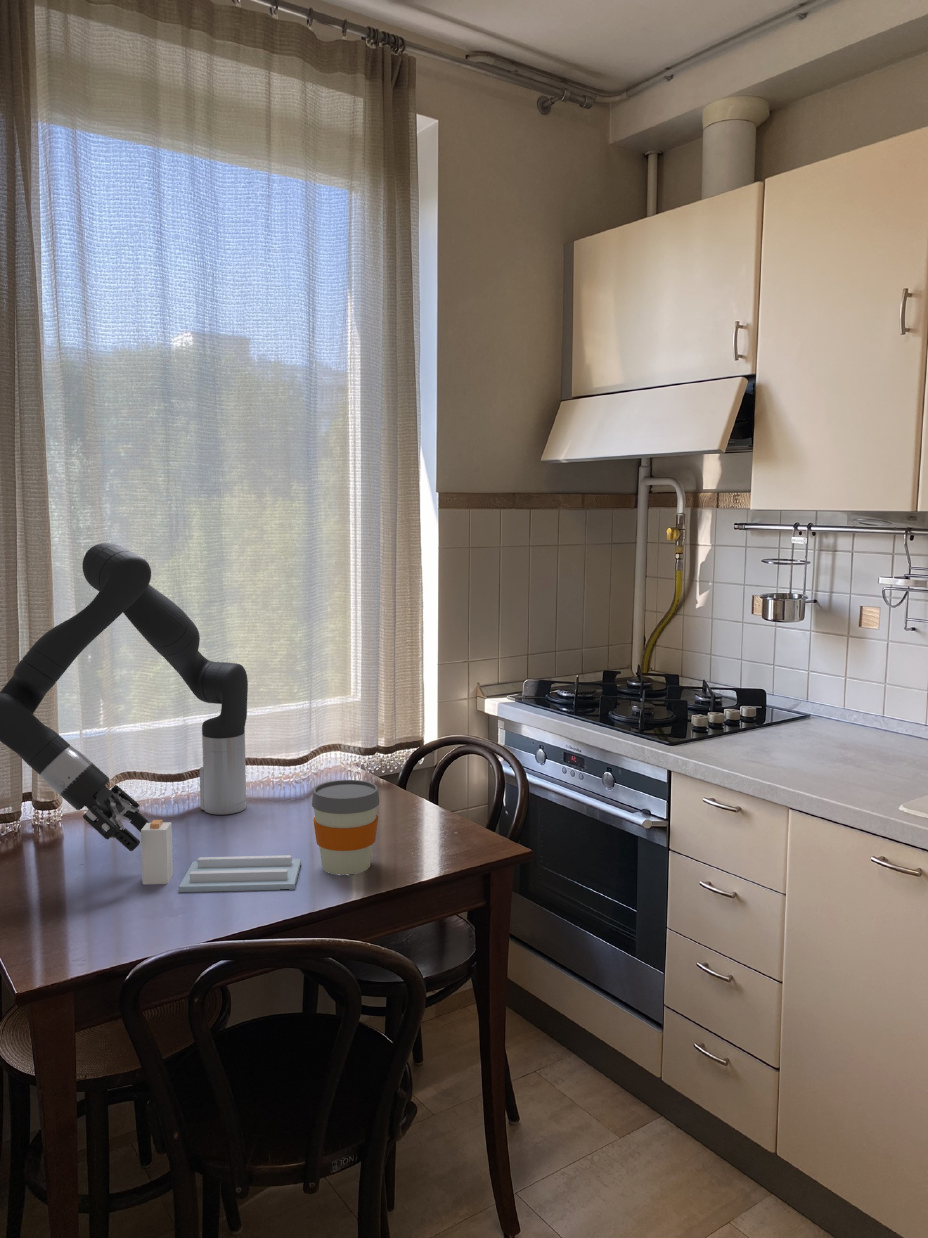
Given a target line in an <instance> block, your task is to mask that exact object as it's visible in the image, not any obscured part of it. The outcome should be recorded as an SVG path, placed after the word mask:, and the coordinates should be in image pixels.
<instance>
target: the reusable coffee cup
mask: <svg viewBox="0 0 928 1238" xmlns="http://www.w3.org/2000/svg"><path fill="white" fill-rule="evenodd" d="M311 801H312V802H311V806H312V808H313V810H314V811H313V812H314V817H313V819H312V821H313V826H314V827H313V829H314V834H315V840H316V841H315V842H316V844H317V845H318V847H319V853H320V860H321V861H320V862H321V868H322V870H323V871H324V870H325V871H324V872H325V873H327V872H329V873H331V874H330V875H333V874H340V875H339V876H341V875H346V874H355V875H357V874H356V873H359V874H361V873H360V872H362V873H364V872H363V871H365V870H367V869H368V868H369V867H371V861H372V851H373V845H374V844H375V842H376V839H377V838H376V837H377V829H378V822H379V816H378V815H377V811H378V806H379V805H380V795H379V787H378V785H376V784H375V783H372V782H370V781H366V780H358V779H339V780H333V781H332V780H330V781H327V782H322V783H320V784H318V785H316V786H315V787H313V790H312V799H311ZM369 869H370V868H369ZM369 869H368V870H369ZM368 870H367V871H368ZM365 872H366V871H365ZM329 873H328V874H329Z"/></svg>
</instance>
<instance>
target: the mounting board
mask: <svg viewBox="0 0 928 1238" xmlns="http://www.w3.org/2000/svg"><path fill="white" fill-rule="evenodd" d="M292 857H293V856H292V855H288V854H287V855H249V856H247V855H244V856H243V855H242V856H241V855H240V856H210V857H209V856H207V857H206V856H203V857H201V856H199V857H198V858H197V861H196V860H195V861H194V860H193V861H192V863H191V865H190V866H189V868H188V869H187V871H186V874H185V875H184V877H183V878H182V880H181V882H180V883H179V886H178V893H203V892H212V893H213V892H240V891H241V892H242V891H243V892H245V891H246V892H247V891H248V892H249V891H278V890H279V891H281V890H280V889H289V890H295V889H294V888H296V885H295V884H297V881H298V878H299V872H300V870H299V869H301V866H300V865H302V859H301V858H292Z"/></svg>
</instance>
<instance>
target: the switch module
mask: <svg viewBox="0 0 928 1238" xmlns="http://www.w3.org/2000/svg"><path fill="white" fill-rule="evenodd" d="M172 826H173V825H172V822H167V821H165V822H163V819H153V820H152V821H151V822H150V823H146V824H145V826H144V827H143V828H142V829H141V832H140V845H141V875H142V877H141V878H142V885H168V884H169V882H170V881H171V880H172V878H173V876H174V863H173V862H174V861H173V835H172V834H173V830H172V829H173V827H172Z"/></svg>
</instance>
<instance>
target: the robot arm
mask: <svg viewBox="0 0 928 1238" xmlns="http://www.w3.org/2000/svg"><path fill="white" fill-rule="evenodd" d="M81 567H82V573H83V577H84V578H85V580H86V582H87V583H88V585H90V587H92V588H93V589H94V590H96V591H98V593H97V594H96V596H95V597H94V598H93V599H92V601H90V603H89V604H88V605H86V606H85V607H84V608H83V609H82V610H80V611H79V612H78V613H77V614H75V615H73V616H72V617H69V619H67V620H64V621H63V622H61V623H59V624H58V625H55V626H54V627H52V628H51V629H48V631H46V632H45V633H44V634H43V635H42V636H41V637H39V639H38V640H36V641H35V642H34V644H33V645H32V646H31V648H30V649H29V650H28V651H27V653H26V654H25V655H24V656H23V657H22V659H20V661H19V662H18V663H17V665H16V667H15V668H14V670H13V675H12V677H11V678H10V679H9V680H8V682H7V683H6V684H5V685H4V686H3V687H2V689H1V690H0V743H2V744H3V745H5V746H6V747H7V748H9V749H10V751H14V753H16V754H17V755H18V756H19V757H20V758H21V759H22V761H24V762H25V763H26V764H27V765H28V766H29V767H30V768H31V769H33V770H34V771H35V772H36V773H37V774H38V775H39V776H40V777H41V778H42V780H43V781H45V783H46V784H47V785H48V786H49V787H50V788H52V790H53V791H55V792H56V793H57V794H58V795H59V796H60V797H62V799H64V800H65V801H66V802H67V803H68V804H69V805H70V806H71V807H73V808H74V810H76V811H81V810H83V808H84V807H85V808H86V809H87V811H86V812H85V813H84V814H83V815H82V818H83V819H84V821H86V822H87V823H88V824H89V825H90V826H91V827H93V829H95V831H96V832H98V833H99V835H101V837H102V838H104V839H105V840H110V839H111V838H112V839H113V840H114V839H116V840H117V841H118V842H119V843H120V844H121V845H123V847H125V848H126V849H127V850H128V851H129V852H133V851H135V849H136V848H138V846H139V845H141V840H140V839H139V838H138V837H136V836H135V835H134V834H133V833H132V832H131V831H130V830H128V829H127V828H126V827H124V824H123V823H122V821H121V819H124V820H126V821H129V824H131V825H132V826H133V827H134V828H135V829H137V830H138V831H139V833H141V829H142V828H143V827H144V826H145V824H146V823H151V822H150V821H149V820H148V819H147V818H145V816H143V814H141V812H140V809H138V808H139V807H140V804H139V803H138V802H137V801H136V800H135V799H134V798H133V797H131V796H130V795H129V794H128V793H126V791H125V790H123V789H122V788H121V787H120V786H119V785H117V784H114V785H113V786H112V787H111V788H110V789H109V788H108V787H106V785H108V784H109V782H110V778H109V776H107V774H105V773H104V772H103V771H102V770H101V769H100V768H99V767H97V765H95V764H94V762H92V761H91V760H90V759H89V758H87V756H85V755H84V754H83V753H82V752H80V751H79V749H76V748H75V747H73V746H72V745H71V744H70V743H69V742H68V741H66V740H65V739H64V738H63V737H62V736H61V735H60V734H59V733H58V732H56V731H55V730H53V728H50V727H48V726H46V725H45V724H44V723H43V722H42V721H41V720H39V719H38V718H37V716H35V714H34V713H35V712H36V710H37V709H38V707H39V706H40V704H41V702H42V701H43V699H44V698H45V696H46V694H47V693H48V692H49V691H50V690H51V689H52V688H53V686H54V685H56V683H57V682H58V681H59V679H60V678H61V677H62V676H63V675H64V673H65V672H66V671H67V669H69V667H70V666H71V664H72V663H73V662H74V661H75V660H76V658H77V657H78V656H79V655H80V654H81V653H82V651H83V652H84V650H85V649H86V648H87V647H88V645H90V644H91V643H92V642H93V641H94V640H95V639H96V638H97V637H98V636H100V634H102V632H104V631H105V630H106V629H107V628H108V627H109V626H110V625H111V624H113V622H114V621H116V619H117V618H118V617H120V616H121V615H122V614H124V616H125V617H126V618H127V619H128V621H129V622H130V623H131V624H132V625H133V626H134V628H135V629H136V630H137V631H138V633H140V635H141V636H142V637H143V638H144V639H145V640H146V641H147V643H148V644H150V646H151V647H153V649H154V650H155V651H157V653H158V654H159V655H161V657H163V659H165V660H166V662H167V663H169V665H170V666H171V667H172V668H173V669H174V670H175V671H176V672H177V673H178V674H179V676H180V677H181V678H182V679H183V681H184V683H185V684H186V685H187V687H188V688H189V690H190V692H191V693H192V694H193V695H194V696H195V698H197V699H198V700H199V701H202V702H204V703H207V704H215V705H216V704H218V705H221V708H220V714H219V715H218V716H215V717H211V718H208V719H206V720H204V721H203V723H202V724H201V736H202V737H201V739H202V740H201V741H202V742H201V743H202V766H201V767H200V768H199V798H200V799H199V803H200V806H199V807H200V810H203V811H204V812H205V813H207V814H211V815H231V814H237V813H240V812H242V811H244V810H246V808H247V780H246V779H247V775H246V773H247V771H246V768H247V766H246V734H245V732H246V729H245V728H246V727H245V726H246V723H247V717H248V695H249V694H248V689H249V687H248V686H249V685H248V684H249V683H248V682H249V681H248V675H247V671H246V669H245V667H244V666H243V665H242V664H240V663H237V662H224V661H212V660H210V659H207V658H206V657H205V656H204V655H203V654H202V653H201V652H200V651H199V647H200V640H201V638H200V637H201V636H200V632H199V629H198V627H197V625H196V624H195V623H194V621H193V620H192V619H191V618H190V617H189V616H188V615H187V613H185V611H184V610H183V609H182V608H181V607H180V606H178V605H177V604H176V603H175V602H174V601H172V600H171V599H170V598H168V596H166V595H164V594H163V593H162V592H161V591H159V590H158V589H156V588H155V587H153V586H152V585H151V584H150V582H151V579H152V570H151V566H150V564H149V562H148V561H147V560H146V559H145V558H143V557H141V556H140V555H138V554H136V553H135V552H132V551H130V550H129V549H127V548H125V547H123V546H121V545H119V544H116V543H110V542H102V543H97V544H95V545H93V546H91V547H90V548H89V549H87V551H86V552H85V554H84V556H83V560H82V566H81Z"/></svg>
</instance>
